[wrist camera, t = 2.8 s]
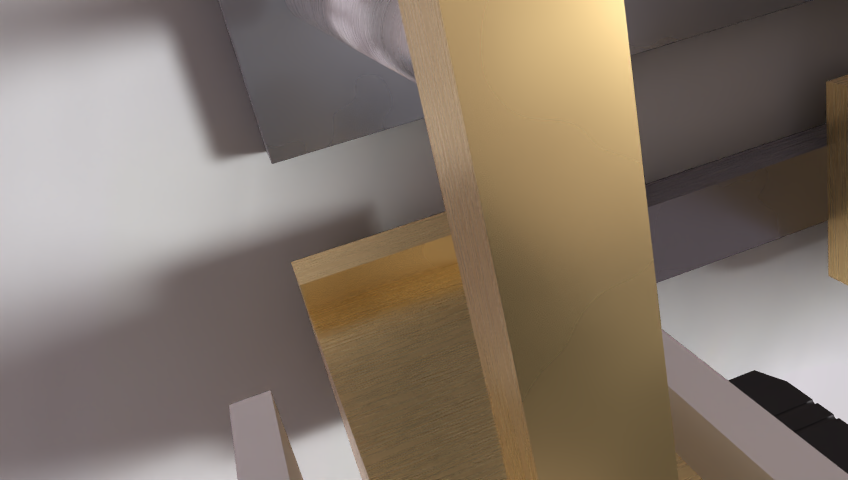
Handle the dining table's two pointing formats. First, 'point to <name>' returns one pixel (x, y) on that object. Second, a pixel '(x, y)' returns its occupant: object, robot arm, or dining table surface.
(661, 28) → the hole plate
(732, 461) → the robot arm
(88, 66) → the dining table surface
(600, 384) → the sliding leg
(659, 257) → the rail
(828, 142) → the fixed leg
